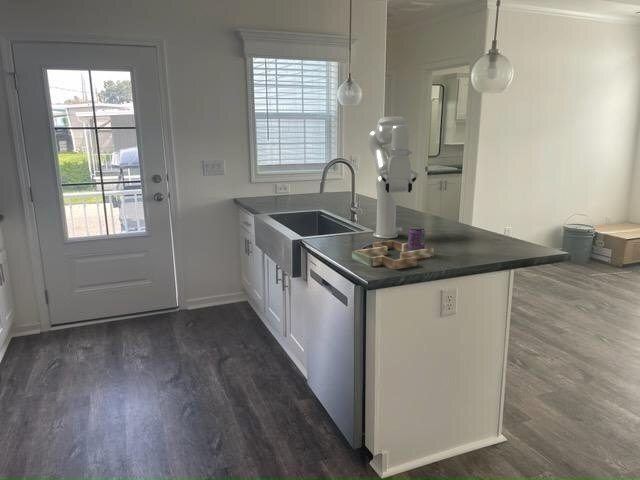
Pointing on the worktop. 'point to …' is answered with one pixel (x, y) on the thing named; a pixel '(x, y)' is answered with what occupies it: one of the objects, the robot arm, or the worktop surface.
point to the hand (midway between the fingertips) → (398, 192)
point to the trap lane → (381, 249)
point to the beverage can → (416, 238)
